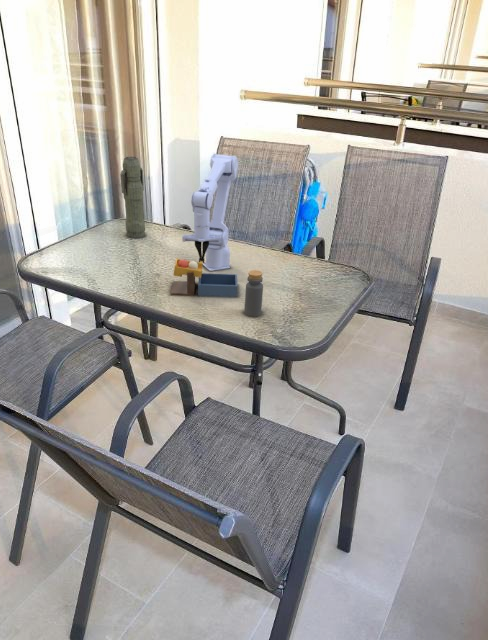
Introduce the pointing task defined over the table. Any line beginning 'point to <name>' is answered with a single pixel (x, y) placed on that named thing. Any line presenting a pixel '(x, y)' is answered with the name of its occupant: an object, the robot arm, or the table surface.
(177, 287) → the dish stand
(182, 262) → the ball coral
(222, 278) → the bin
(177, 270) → the yellow tray
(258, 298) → the bottle
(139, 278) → the table surface
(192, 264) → the ball cream
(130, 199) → the stone statue
